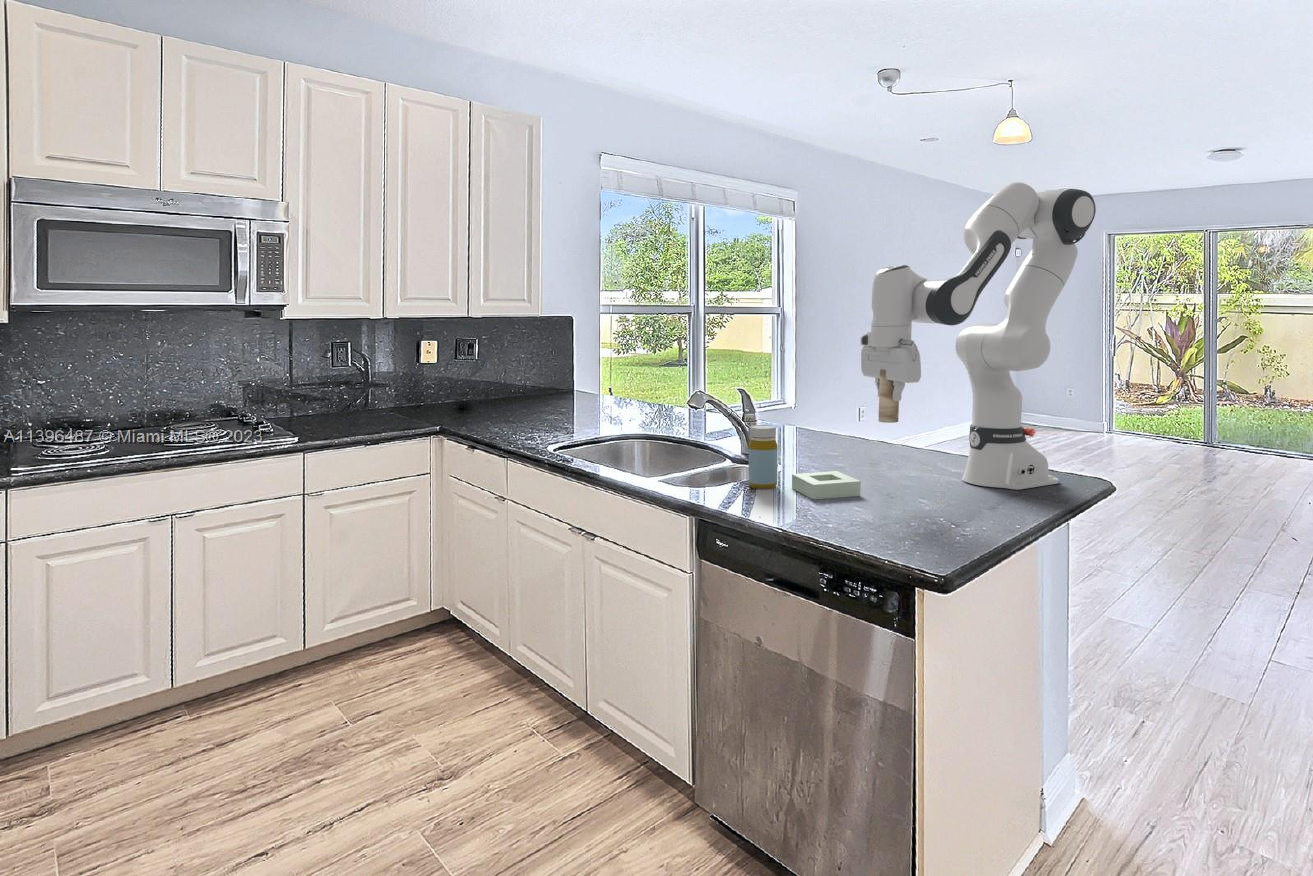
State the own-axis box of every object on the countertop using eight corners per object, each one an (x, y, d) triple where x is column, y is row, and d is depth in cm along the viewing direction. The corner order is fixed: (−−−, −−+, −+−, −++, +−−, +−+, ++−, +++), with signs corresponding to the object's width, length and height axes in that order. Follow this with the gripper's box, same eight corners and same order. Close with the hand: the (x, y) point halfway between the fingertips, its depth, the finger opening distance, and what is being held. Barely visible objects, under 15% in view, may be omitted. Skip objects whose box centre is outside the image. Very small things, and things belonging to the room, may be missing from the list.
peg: (891, 419, 182) (893, 368, 180) (902, 422, 178) (903, 369, 176) (874, 420, 181) (876, 369, 179) (884, 423, 177) (886, 370, 175)
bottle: (758, 482, 198) (758, 423, 196) (782, 485, 194) (782, 426, 191) (743, 487, 193) (743, 427, 190) (767, 491, 188) (768, 429, 186)
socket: (836, 484, 194) (836, 470, 193) (860, 495, 182) (860, 481, 182) (791, 488, 191) (792, 474, 190) (813, 499, 179) (813, 484, 179)
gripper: (929, 339, 167) (927, 403, 170) (880, 336, 187) (879, 394, 189) (903, 340, 166) (901, 405, 168) (856, 337, 185) (855, 395, 188)
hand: (889, 399), depth 179 cm, fingers closed on peg, 4 cm apart
